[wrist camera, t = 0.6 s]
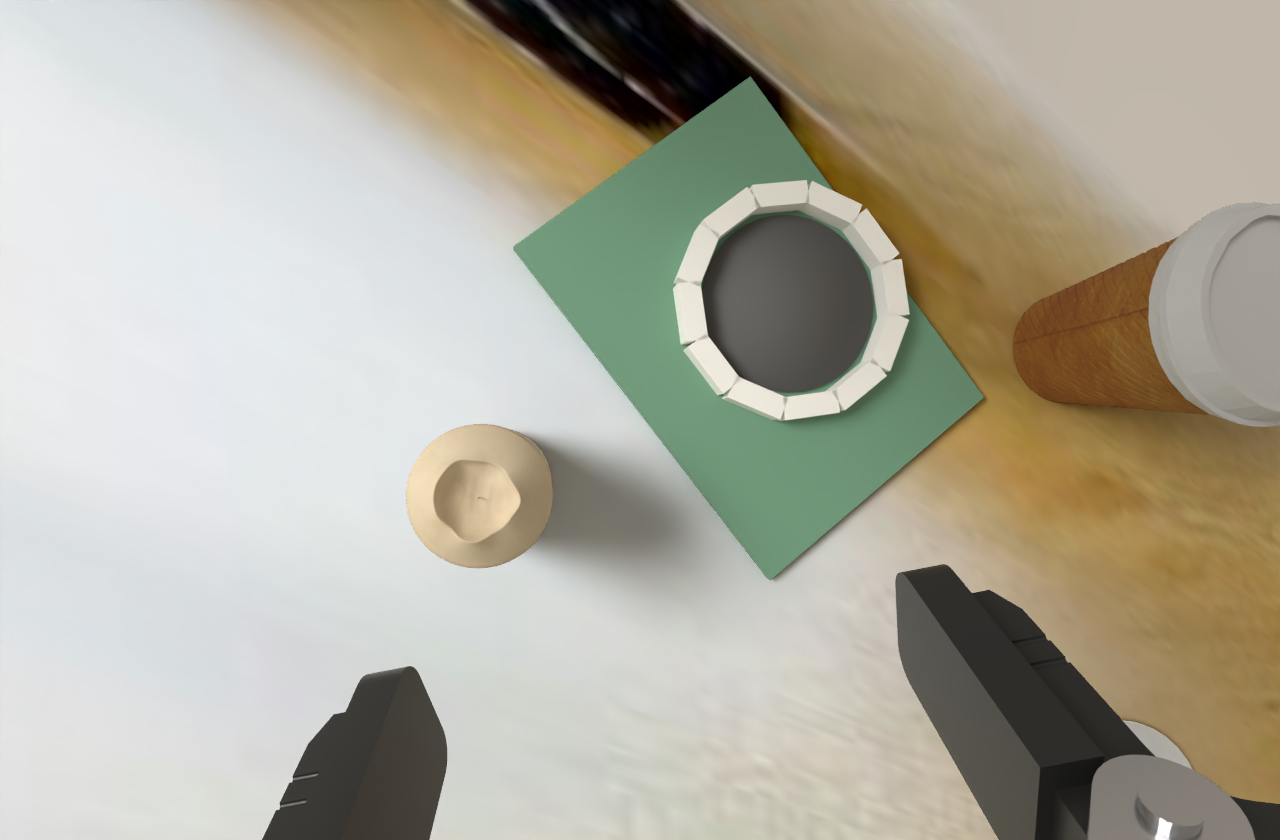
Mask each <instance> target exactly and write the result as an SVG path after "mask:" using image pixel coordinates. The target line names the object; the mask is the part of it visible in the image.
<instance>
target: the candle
mask: <svg viewBox="0 0 1280 840" xmlns="http://www.w3.org/2000/svg"><path fill="white" fill-rule="evenodd" d="M552 503H553V486H552V478H551V471H550V468H549V464H548V462H547V460H546V457H545V456H544V454H543V452H542V451H541V450H540V448H539V447H538V446H537V445H536V444H535V443H534V442H533V441H532V440H530V439H529V438H528V437H526V436H524V435H523V434H521V433H519V432H516V431H513V430H510V429H507V428H503V427H499V426H495V425H487V424H474V425H467V426H463V427H459V428H456V429H453V430H451V431H449V432H446V433H445V434H443V435H441V436H440V437H438V438H437V439H435V440H434V441H433V442H432V443H430V444H429V445H428V446H427V447H426V448H425V449H424V451H423V452H422V453H421V455H420V456H419V457H418V459H417V461H416V462H415V464H414V466H413V468H412V470H411V473H410V476H409V479H408V483H407V490H406V505H407V512H408V516H409V519H410V522H411V524H412V527H413V529H414V531H415V533H416V534H417V536H418V537H419V539H420V540H421V541H422V542H423V544H424V545H425V546H426V547H427V548H428V549H429V550H430V551H431V552H433V553H434V554H436V555H437V556H438V557H440V558H442V559H444V560H446V561H448V562H450V563H453V564H455V565H459V566H463V567H469V568H488V567H493V566H498V565H501V564H504V563H507V562H509V561H511V560H513V559H515V558H517V557H518V556H520V555H521V554H523V553H524V552H525V551H526V550H528V549H529V548H530V547H531V546H532V545H533V544H534V543H535V542H536V541H537V539H538V538H539V536H540V535H541V534H542V532H543V530H544V528H545V527H546V525H547V522H548V520H549V517H550V513H551V509H552Z"/></svg>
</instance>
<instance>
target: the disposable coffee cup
mask: <svg viewBox="0 0 1280 840" xmlns="http://www.w3.org/2000/svg"><path fill="white" fill-rule="evenodd" d="M1014 358H1015V362H1016V365H1017V369H1018V371H1019V373H1020V375H1021V377H1022V379H1023V380H1024V381H1025V383H1026V384H1027V385H1028V386H1029V388H1030V389H1032V390H1033V391H1034V392H1035V393H1037V394H1038V395H1039V396H1041V397H1043V398H1045V399H1047V400H1051V401H1054V402H1061V403H1076V404H1087V405H1100V406H1111V407H1123V408H1137V409H1147V410H1159V411H1171V412H1183V413H1196V414H1209V415H1213V416H1217V417H1220V418H1222V419H1225V420H1228V421H1230V422H1233V423H1236V424H1239V425H1246V426H1256V427H1270V426H1277V425H1280V204H1272V205H1269V204H1262V203H1240V204H1234V205H1230V206H1226V207H1223V208H1221V209H1218V210H1216V211H1213V212H1211V213H1210V214H1208V215H1207V216H1205V217H1204V218H1202V219H1201V220H1199V221H1198V222H1196V223H1195V224H1193V225H1192V226H1191V227H1190V228H1189V229H1188V230H1187V231H1185V232H1184V233H1182V234H1181V235H1180V236H1179V237H1177V238H1175V239H1173V240H1171V241H1169V242H1165V243H1164V244H1162V245H1160V246H1158V247H1157V248H1152V249H1150V250H1148V251H1147V252H1146V253H1142V254H1140V255H1138V256H1136V257H1135V258H1131V259H1129V260H1127V261H1125V262H1124V263H1120V264H1118V265H1116V266H1115V267H1111V268H1109V269H1107V270H1106V271H1104V272H1101V273H1099V274H1097V275H1095V276H1092V277H1090V278H1088V279H1086V280H1083V281H1081V282H1079V283H1077V284H1075V285H1073V286H1071V287H1069V288H1066V289H1064V290H1062V291H1060V292H1057V293H1055V294H1053V295H1051V296H1049V297H1047V298H1044V299H1041V300H1040V301H1038V302H1036V303H1035V304H1033V305H1032V306H1031V307H1030V308H1029V309H1028V310H1027V311H1026V312H1025V314H1024V315H1023V317H1022V318H1021V320H1020V321H1019V323H1018V326H1017V328H1016V332H1015V336H1014Z"/></svg>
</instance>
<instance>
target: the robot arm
mask: <svg viewBox="0 0 1280 840" xmlns="http://www.w3.org/2000/svg"><path fill="white" fill-rule="evenodd" d="M896 606H897V628H898V647H899V653H900V657H901V661H902V665H903V668H904V671H905V673H906V676H907V678H908V680H909V683H910V685H911V686H912V688H913V690H914V692H915V694H916V695H917V697H918V699H919V701H920V702H921V704H922V706H923V708H924V709H925V711H926V713H927V715H928V716H929V718H930V720H931V722H932V723H933V725H934V727H935V729H936V730H937V732H938V734H939V736H940V737H941V739H942V741H943V743H944V744H945V746H946V748H947V750H948V751H949V753H950V755H951V757H952V758H953V760H954V762H955V764H956V765H957V767H958V769H959V771H960V772H961V774H962V776H963V778H964V779H965V781H966V783H967V785H968V787H969V788H970V790H971V792H972V794H973V795H974V797H975V799H976V801H977V802H978V804H979V806H980V808H981V809H982V811H983V813H984V815H985V816H986V818H987V820H988V822H989V823H990V825H991V827H992V829H993V830H994V832H995V834H996V836H997V837H998V839H999V840H1280V804H1273V803H1265V802H1256V801H1250V800H1244V799H1239V798H1235V797H1232V796H1229V795H1228V794H1227V793H1226V792H1224V791H1223V790H1222V789H1221V788H1220V787H1219V786H1217V785H1216V784H1215V783H1213V782H1212V781H1210V780H1209V779H1208V778H1206V777H1204V776H1203V775H1201V774H1199V773H1197V772H1196V771H1194V770H1192V769H1190V768H1188V767H1185V766H1183V765H1181V764H1178V763H1176V762H1173V761H1170V760H1167V759H1163V758H1159V757H1156V756H1155V755H1154V754H1153V753H1152V752H1151V751H1150V750H1149V749H1148V748H1147V747H1146V746H1145V745H1144V744H1143V743H1142V742H1141V741H1140V740H1139V738H1138V737H1137V736H1136V735H1135V734H1134V733H1133V732H1132V731H1131V730H1130V728H1129V727H1128V726H1127V725H1126V724H1125V723H1124V722H1123V721H1122V720H1121V718H1120V717H1119V716H1118V715H1117V714H1116V713H1115V712H1114V711H1113V710H1112V708H1111V707H1110V706H1109V705H1108V704H1107V703H1106V702H1105V701H1104V700H1103V698H1102V697H1101V696H1100V695H1099V694H1098V693H1097V692H1096V691H1095V690H1094V688H1093V687H1092V686H1091V685H1090V684H1089V683H1088V682H1087V681H1086V680H1085V678H1084V677H1083V676H1082V675H1081V674H1080V673H1079V672H1078V671H1077V670H1076V668H1075V667H1074V666H1073V665H1072V664H1071V663H1067V661H1066V659H1065V656H1064V655H1063V654H1062V653H1061V652H1060V651H1059V649H1058V648H1057V647H1056V646H1055V645H1054V644H1053V643H1052V642H1051V641H1050V640H1049V641H1048V640H1047V639H1046V635H1045V634H1044V633H1043V632H1042V631H1041V629H1040V628H1039V627H1038V626H1037V625H1036V624H1035V623H1034V622H1033V621H1032V619H1031V618H1030V617H1029V616H1028V615H1027V614H1026V613H1025V612H1024V611H1023V609H1021V608H1019V607H1018V606H1016V605H1014V604H1013V603H1011V602H1009V601H1007V600H1006V599H1004V598H1002V597H1001V596H999V595H997V594H996V593H994V592H992V591H990V590H986V591H981V592H976V593H971V592H970V591H969V590H968V588H967V587H966V586H965V585H964V583H963V582H962V581H961V580H960V579H959V577H958V576H957V575H956V574H955V572H954V571H953V570H952V569H951V568H950V567H949V566H947V565H945V564H942V565H937V566H932V567H927V568H922V569H917V570H911V571H906V572H901V573H898V574H897V576H896ZM446 767H447V744H446V738H445V734H444V731H443V728H442V726H441V723H440V721H439V719H438V716H437V714H436V712H435V710H434V707H433V705H432V703H431V700H430V698H429V696H428V694H427V691H426V689H425V687H424V685H423V682H422V680H421V678H420V675H419V673H418V672H417V670H416V669H415V668H414V667H411V666H408V667H403V668H398V669H393V670H388V671H383V672H378V673H372V674H367V675H365V676H364V677H362V679H361V680H360V682H359V683H358V685H357V688H356V690H355V692H354V694H353V697H352V699H351V701H350V703H349V706H348V708H347V710H346V712H344V713H339V714H334V715H333V716H332V717H331V718H330V720H329V721H328V722H327V723H326V724H325V725H324V726H323V728H322V729H321V730H320V731H319V732H318V733H317V735H316V736H315V737H314V738H313V739H312V740H311V742H310V743H309V744H308V746H307V748H306V750H305V752H304V754H303V756H302V758H301V760H300V762H299V764H298V766H297V768H296V770H295V773H294V775H293V782H292V783H289V785H288V787H287V789H286V791H285V793H284V795H283V797H282V799H281V802H280V809H279V810H276V812H275V814H274V816H273V818H272V820H271V822H270V824H269V826H268V829H267V831H266V833H265V835H264V837H263V839H262V840H429V839H430V835H431V830H432V826H433V822H434V818H435V814H436V810H437V806H438V802H439V798H440V793H441V789H442V785H443V781H444V777H445V773H446Z"/></svg>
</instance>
